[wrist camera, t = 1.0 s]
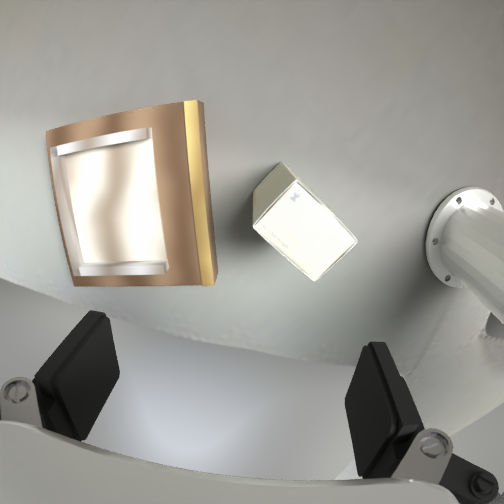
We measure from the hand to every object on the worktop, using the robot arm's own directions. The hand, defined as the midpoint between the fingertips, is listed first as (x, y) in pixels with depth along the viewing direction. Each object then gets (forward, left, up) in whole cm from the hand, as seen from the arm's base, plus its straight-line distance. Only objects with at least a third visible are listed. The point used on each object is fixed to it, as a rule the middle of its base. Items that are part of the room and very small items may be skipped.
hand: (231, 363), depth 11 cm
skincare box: (-4, -1, -24) cm, 24 cm away
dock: (+13, -2, -23) cm, 27 cm away
